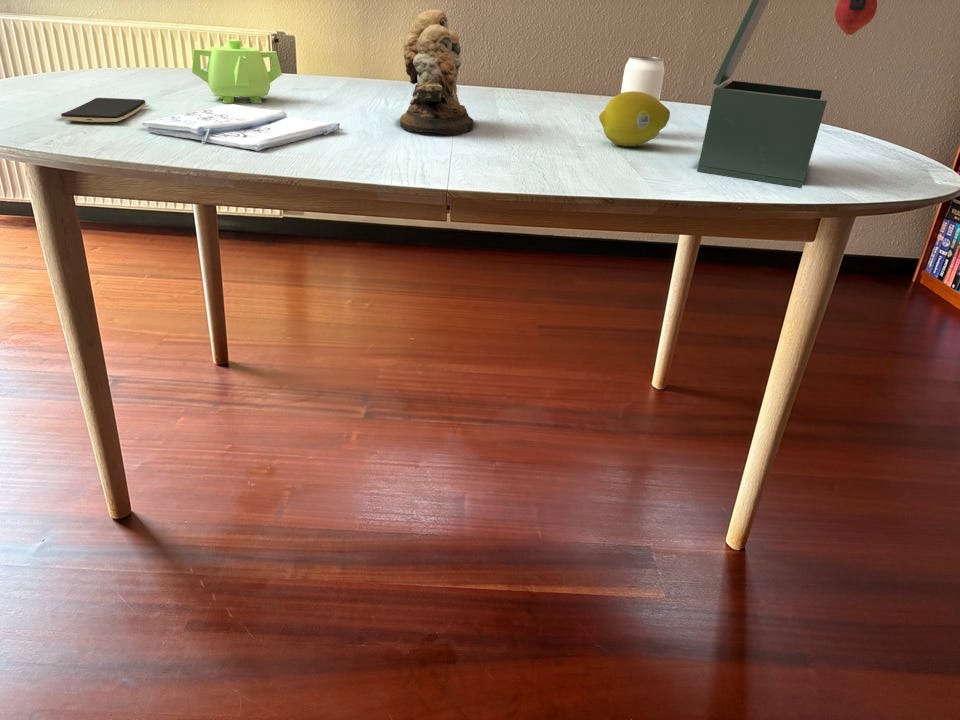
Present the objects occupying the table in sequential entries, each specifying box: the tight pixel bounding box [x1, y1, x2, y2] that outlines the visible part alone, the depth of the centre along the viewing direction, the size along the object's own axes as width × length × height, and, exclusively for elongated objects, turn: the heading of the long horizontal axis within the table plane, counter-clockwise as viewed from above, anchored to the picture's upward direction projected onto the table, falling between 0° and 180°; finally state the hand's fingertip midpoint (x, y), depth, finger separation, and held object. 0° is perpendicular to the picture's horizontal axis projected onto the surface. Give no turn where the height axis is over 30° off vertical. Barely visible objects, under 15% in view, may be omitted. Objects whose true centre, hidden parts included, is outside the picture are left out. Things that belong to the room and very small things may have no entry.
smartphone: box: [60, 97, 147, 123], centre depth 102 cm, size 7×1×15 cm
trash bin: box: [696, 79, 829, 188], centre depth 95 cm, size 14×14×11 cm
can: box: [620, 55, 665, 102], centre depth 114 cm, size 6×6×12 cm
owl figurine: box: [399, 8, 474, 136], centre depth 107 cm, size 18×12×17 cm, turn 178°
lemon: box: [598, 91, 671, 147], centre depth 105 cm, size 11×8×8 cm
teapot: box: [191, 38, 283, 104], centre depth 119 cm, size 12×12×10 cm
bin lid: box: [712, 0, 770, 86], centre depth 91 cm, size 14×14×5 cm
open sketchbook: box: [141, 103, 341, 152], centre depth 97 cm, size 19×20×2 cm
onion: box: [834, 0, 878, 36], centre depth 108 cm, size 6×6×8 cm
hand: (855, 10), depth 109 cm, fingers closed on onion, 6 cm apart
